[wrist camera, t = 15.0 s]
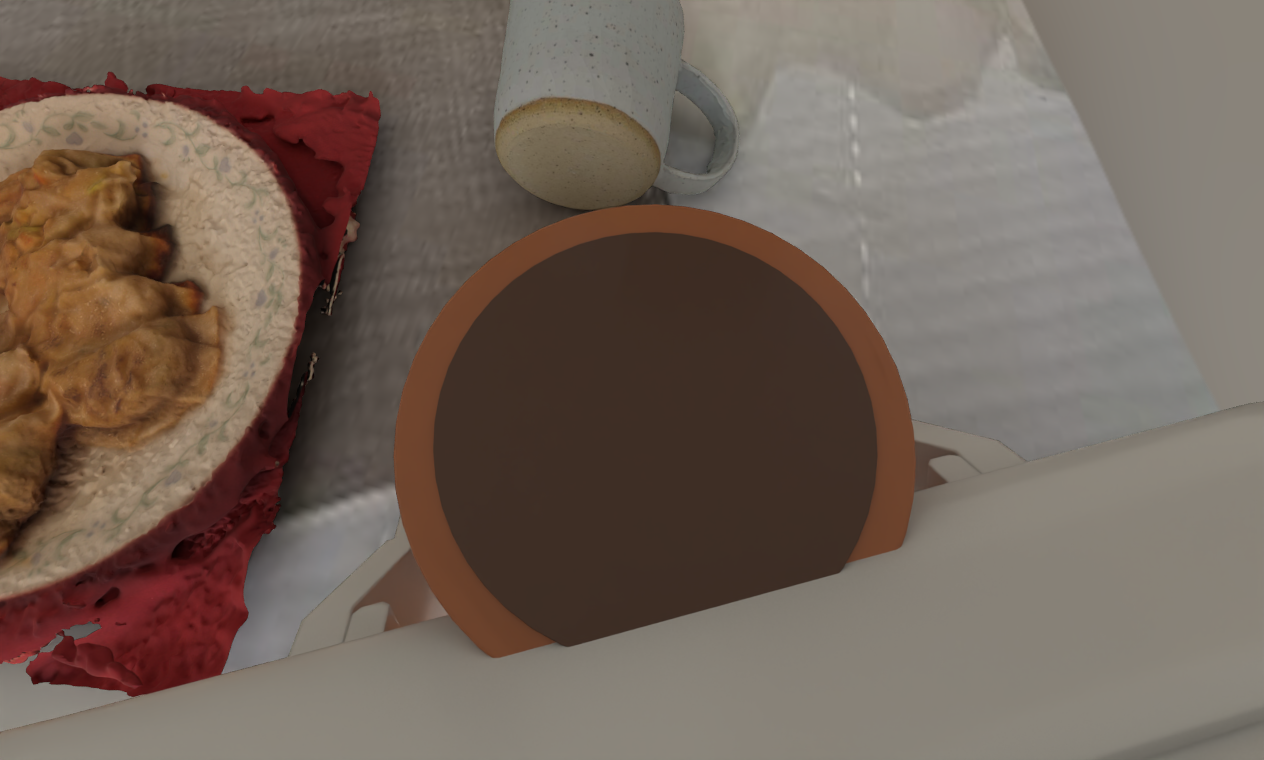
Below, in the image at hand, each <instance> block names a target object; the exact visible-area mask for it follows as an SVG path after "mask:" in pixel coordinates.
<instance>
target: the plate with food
mask: <svg viewBox="0 0 1264 760" xmlns="http://www.w3.org/2000/svg"><path fill="white" fill-rule="evenodd" d="M88 89H89V90H90V92H87V90H88ZM74 90H77V91H74ZM74 90H72V89H71V88H70V87H68V86H66V85H63V84H60V83H57V82H52V81H48V82H41V81H39V80H37V79H36V78H33V77H32V78H31V79H30V80H22V81H19V80H10V79H6V78H3V77H0V664H2V663H3V661H4V662H8V663H11V664H16V663H22V662H25V661H26V660H27V659H28V657H29V656H33V655H36V654H37V653H38V656H37V658H36V659H35V660H34V661H30V664H29V666H28V667H27V668H26V673H27V674H28V675H29V676H30V677H31V681H32V683H33V685H34V684H38V683H41V682H50V683H49V684H56V685H61V684H67V685H72V686H86V687H91V688H99V689H104V690H120V691H124V692H127V695H128V696H132V697H135V696H138V695H142V694H150V693H153V692H157V691H161V690H165V689H169V688H172V687H176V686H180V685H184V684H188V683H191V682H195V681H199V680H203V679H207V678H210V677H214V676H218V675H221V673H222V670H223V668H224V666H225V663H226V660H227V658H228V655H229V651H230V648H231V645H232V642H233V639H234V637H235V634H236V632H237V631H238V629H239V628H240V627H241V626H242V625H243V623H244V622H245V621H246V620H247V618H248V614H249V612H248V610H247V608H246V606H245V603H244V596H243V589H244V583H245V578H246V573H247V566H248V561H249V559H250V556H251V552H252V550H253V548H254V547H255V546H256V545H257V543H258V542H259V540H260V539H261V537H262V535H263V534H269V533H270V532H271V531H272V530H273V529H275V528H276V525H275V524H274V523H273V520H274V519H275V517H276V513H277V512H278V511H279V509H280V507H281V504H278V505H276V506H275V504H276V503H277V502H278V501H280V500H281V498H280V497H278V489H279V487H280V484H281V482H282V476H283V469H282V467H283V465H284V464H285V463H286V462H287V461H288V459H289V448H290V447H291V445H292V442H293V439H294V438H295V432H296V429H297V425H298V418H299V416H300V409H301V406H302V397H303V395H304V392H305V385H307V380H311V379H313V378H314V370H313V368H314V363H315V362H317V361H318V360H319V358H318V357H317V356H316V354H315V353H312V355H311V356H310V358H311V362H309V363H308V371H307V372H305V373H304V374H303V375H302V377H301V382H300V384H299V387H298V390H297V397H296V399H293V402H292V405H291V407H290V409H289V411H288V412H287V401H288V394H289V389H290V384H291V377H292V372H293V366H294V362H295V359H296V351H297V347H298V345H299V344H300V341H301V337H302V333H303V331H304V327H305V319H306V312H307V311H308V309H309V308H310V306H311V304H312V300H313V294H314V292H315V290H316V288H317V287H322V289H325V290H326V291H329V290H330V294H331V298H330V300H328V298H326V300H325V301H326V303H328V308H326V307H325V306H324V307H323V308H321V313H322V314H323V313H325V314H327V315H332V305H333V303H334V300H335V299H336V298H337V297H336V293H337V289H338V285H339V282H340V278H341V272H342V270H343V266H344V257H345V254H344V253H343V252H344V251H347V244H348V243H349V242H354V241H356V240H357V229H358V228H359V227H360V223H359V222H356V221H355V216H356V213H354V212H352V211H351V208H352V207H354V206H355V205H356V204H357V201H356V200H357V197H358V195H360V193H361V190H363V189H364V184H365V181H366V178H367V174H368V169H369V166H370V161H371V159H372V154H373V151H374V148H375V145H376V141H377V135H378V129H379V125H378V121H379V119H380V117H381V112H380V105H379V100H378V99H377V98H375V97H373V94H372V92H371V91H370V93H369V97H367V98H365V97H362V96H359V95H356V94H355V93H353V92H352V91H348V92H347V93H341V94H339V95H334V96H333V95H332V94H330V93H329V92H328V91H326V90H322V89H318V90H315V91H310V92H306V93H303V94H295V93H292V92H283V93H281V92H278V91H275V90H272V89H269V88H266V89H265V90H264V91H263V94H255V93H253V92H252V91H251V90H250V88H249V87H248V86H243V87H242V88H241V93H240V92H237V91H224V90H220V91H216V90H213V91H208V90H200V89H191V88H186V89H183V88H176V87H171V86H167V85H163V84H152V85H149V86H147V88H146V92H147V94H143V93H142V92H139V91H136V94H135V95H134V94H133V90H132V89H131V90H130V91H129V93H127V91H128V87H127V85H126V84H125V83H124V81H122V80H119V79H117V78H116V76H115V75H114V73H112V72H108V76H107V79H106V80H105V86H104V85H93V86H92V88H90V87H89V86H86V87H84V88H83V89H80V88H76V89H74ZM342 292H343V291H339V292H338V294H339V295H341V294H342ZM328 301H329V302H328ZM315 356H316V357H315ZM89 621H91V622H92V623H93V624H95V623H96V624H100V625H101V627H102V628H101V629H99V630H97V631H95V632H93V633H91V634H90V635H88V636H87V637H84V638H81V639H77V640H75V641H74V638H73V637H72V636H65V635H64V631H63V630H62V629H70V627H71V626H74V625H76V624H78V625H83V624H86V623H87V622H89ZM55 633H57V634H58V635H60V636H63V637H64V638H63V640H62V642H60V643H59V644H58V645H56V647H55V648H54V650H53V651H51V652H45V653H44V652H41V653H39V652H40V650H41V648H40V647H45V646H47V645H48V644H49V642H50V641H51V640H52V639H54V638H56V634H55Z"/></svg>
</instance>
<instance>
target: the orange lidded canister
mask: <svg viewBox="0 0 1264 760" xmlns="http://www.w3.org/2000/svg"><path fill="white" fill-rule="evenodd" d="M394 471H395V487H396V494H397V499H398V504H399V509H400V514H401V519H402V524H403V527H404V530H405V533H406V536H407V539H408V541H409V544H410V547H411V550H412V553H413V556H414V558H415V560H416V562H417V564H418V566H419V568H420V570H421V572H422V574H423V576H424V578H425V580H426V582H427V584H428V586H429V588H430V589H431V591H432V592H433V594H434V595H435V597H436V598H437V600H438V601H439V602H440V604H441V605H442V607H443V608H444V609H445V611H446V612H447V614H448V615H449V616H450V618H451V619H452V621H453V622H454V623H455V624H456V625H457V626H458V627H459V628H460V629H461V630H462V631H463V632H464V633H465V634H466V635H467V636H468V637H469V639H470V640H471V641H472V642H473V643H474V644H475V645H476V646H477V647H478V648H479V649H480V650H482V651H483V652H484V653H486V654H487V655H488V656H490V657H492V658H501V657H505V656H508V655H512V654H516V653H519V652H523V651H527V650H530V649H534V648H538V647H541V646H545V645H549V644H552V643H556V642H557V643H558V644H560V645H563V646H565V647H571V646H575V645H579V644H582V643H586V642H590V641H593V640H597V639H601V638H604V637H608V636H612V635H615V634H619V633H623V632H626V631H630V630H634V629H637V628H641V627H644V626H648V625H652V624H655V623H659V622H663V621H666V620H670V619H674V618H677V617H681V616H685V615H688V614H692V613H696V612H699V611H703V610H707V609H710V608H714V607H718V606H721V605H725V604H729V603H732V602H736V601H739V600H743V599H747V598H750V597H754V596H758V595H761V594H765V593H769V592H772V591H776V590H780V589H783V588H787V587H791V586H794V585H798V584H802V583H805V582H809V581H813V580H816V579H820V578H823V577H827V576H831V575H834V574H838V573H840V572H841V570H842V569H843V568H844V566H845V564H846V563H849V562H853V561H857V560H860V559H864V558H868V557H871V556H875V555H879V554H882V553H886V552H890V551H893V550H897V549H898V548H900V547H901V546H902V544H903V541H904V538H905V536H906V533H907V528H908V523H909V519H910V514H911V509H912V504H913V499H914V486H915V471H916V457H915V442H914V429H913V424H912V419H911V414H910V409H909V404H908V399H907V396H906V393H905V390H904V387H903V384H902V381H901V378H900V375H899V372H898V369H897V367H896V365H895V363H894V361H893V359H892V357H891V354H890V352H889V350H888V348H887V346H886V344H885V342H884V340H883V338H882V337H881V335H880V334H879V332H878V330H877V329H876V327H875V326H874V324H873V323H872V321H871V320H870V318H869V317H868V315H867V313H866V312H865V311H864V310H863V308H862V307H861V306H860V305H859V304H858V302H857V301H856V300H855V299H854V298H853V296H852V295H851V294H850V293H849V292H848V290H847V289H846V288H845V287H844V286H843V285H842V284H841V283H840V282H839V281H837V280H836V279H835V278H834V277H833V276H832V275H831V274H830V273H829V272H828V271H827V270H826V269H825V268H824V267H823V266H821V265H820V264H819V263H817V262H816V261H815V260H813V259H812V258H810V257H809V256H808V255H806V254H805V253H804V252H802V251H801V250H800V249H798V248H797V247H795V246H793V245H792V244H790V243H788V242H786V241H785V240H783V239H781V238H779V237H778V236H776V235H774V234H773V233H770V232H768V231H766V230H764V229H761V228H759V227H757V226H754V225H752V224H750V223H748V222H745V221H742V220H739V219H736V218H733V217H729V216H726V215H723V214H720V213H716V212H712V211H706V210H701V209H696V208H691V207H684V206H671V205H657V204H654V205H627V206H620V207H613V208H607V209H600V210H595V211H591V212H588V213H584V214H580V215H577V216H573V217H569V218H566V219H564V220H561V221H559V222H556V223H554V224H551V225H549V226H546V227H544V228H541V229H539V230H537V231H535V232H533V233H532V234H530V235H528V236H526V237H524V238H522V239H520V240H519V241H517V242H515V243H513V244H512V245H510V246H509V247H507V248H506V249H505V250H503V251H502V252H500V253H499V254H498V255H496V256H495V257H493V258H492V259H490V260H489V261H488V262H487V263H486V264H484V265H483V266H482V267H481V268H480V269H479V270H478V271H477V272H476V273H474V274H473V275H472V276H471V277H470V278H469V279H468V280H467V281H466V282H465V283H464V284H463V285H462V286H461V287H460V289H459V290H458V291H457V292H456V293H455V294H454V295H453V297H452V298H451V299H450V300H449V301H448V302H447V304H446V305H445V306H444V308H443V309H442V311H441V312H440V314H439V315H438V317H437V318H436V320H435V321H434V322H433V324H432V325H431V327H430V328H429V330H428V332H427V334H426V336H425V338H424V340H423V342H422V344H421V346H420V348H419V350H418V352H417V354H416V356H415V358H414V360H413V363H412V365H411V368H410V371H409V374H408V377H407V380H406V383H405V385H404V388H403V392H402V397H401V401H400V406H399V411H398V416H397V421H396V430H395V444H394Z"/></svg>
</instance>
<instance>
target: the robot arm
mask: <svg viewBox="0 0 1264 760" xmlns="http://www.w3.org/2000/svg"><path fill="white" fill-rule="evenodd" d="M912 424H913V429H914V442H915V457H916V471H915V486H914V499H913V504H912V509H911V514H910V519H909V523H908V528H907V533H906V536H905V538H904V541H903V544H902V546H901V547H900V548H898V549H897V550H893V551H890V552H886V553H882V554H879V555H875V556H871V557H868V558H864V559H860V560H857V561H853V562H849V563H846V564H845V566H844V568H843V569H842V570H841V572H840V573H838V574H834V575H831V576H827V577H823V578H820V579H816V580H813V581H809V582H805V583H802V584H798V585H794V586H791V587H787V588H783V589H780V590H776V591H772V592H769V593H765V594H761V595H758V596H754V597H750V598H747V599H743V600H739V601H736V602H732V603H729V604H725V605H721V606H718V607H714V608H710V609H707V610H703V611H699V612H696V613H692V614H688V615H685V616H681V617H677V618H674V619H670V620H666V621H663V622H659V623H655V624H652V625H648V626H644V627H641V628H637V629H634V630H630V631H626V632H623V633H619V634H615V635H612V636H608V637H604V638H601V639H597V640H593V641H590V642H586V643H582V644H579V645H575V646H571V647H565V646H563V645H560V644H558V643H557V642H556V643H552V644H549V645H545V646H541V647H538V648H534V649H530V650H527V651H523V652H519V653H516V654H512V655H508V656H505V657H501V658H492V657H490V656H488V655H487V654H486V653H484V652H483V651H482V650H480V649H479V648H478V647H477V646H476V645H475V644H474V643H473V642H472V641H471V640H470V639H469V637H468V636H467V635H466V634H465V633H464V632H463V631H462V630H461V629H460V628H459V627H458V626H457V625H456V624H455V623H454V622H453V621H452V619H451V618H450V616H449V615H448V614H447V612H446V611H445V609H444V608H443V607H442V605H441V604H440V602H439V601H438V600H437V598H436V597H435V595H434V594H433V592H432V591H431V589H430V588H429V586H428V584H427V582H426V580H425V578H424V576H423V574H422V572H421V570H420V568H419V566H418V564H417V562H416V560H415V558H414V556H413V553H412V550H411V547H410V544H409V541H408V539H407V536H406V533H405V530H404V527H403V524H402V519H401V514H400V517H399V521H398V525H397V529H396V533H395V537H394V539H391V540H387V541H386V542H385V543H384V544H383V545H382V546H381V547H380V548H379V549H378V550H377V551H376V552H374V553H373V554H372V555H371V556H370V557H369V558H368V559H367V560H366V561H365V562H364V563H363V564H362V565H361V566H360V567H358V568H357V569H356V570H355V571H354V572H353V573H352V574H351V575H350V576H349V577H348V578H347V579H346V580H345V581H344V582H343V583H341V584H340V585H339V586H338V587H337V588H336V589H335V590H334V591H333V592H332V593H331V594H330V595H329V596H328V597H327V598H325V599H324V600H323V601H322V602H321V603H320V604H319V605H318V606H317V607H316V608H315V609H314V610H313V611H312V612H311V613H310V614H308V615H307V616H306V617H305V618H304V619H303V620H302V622H301V624H300V627H299V629H298V632H297V634H296V637H295V640H294V642H293V645H292V647H291V650H290V653H289V655H288V657H286V658H283V659H279V660H275V661H271V662H267V663H264V664H260V665H256V666H252V667H248V668H245V669H241V670H237V671H233V672H229V673H226V674H222V675H218V676H214V677H210V678H207V679H203V680H199V681H195V682H191V683H188V684H184V685H180V686H176V687H172V688H169V689H165V690H161V691H157V692H153V693H150V694H146V695H142V696H138V697H135V698H131V699H127V700H123V701H119V702H116V703H112V704H108V705H104V706H100V707H97V708H93V709H89V710H85V711H81V712H78V713H74V714H70V715H66V716H62V717H59V718H55V719H51V720H46V721H42V722H38V723H34V724H30V725H26V726H22V727H17V728H13V729H9V730H5V731H2V732H0V760H1264V402H1256V403H1251V404H1246V405H1241V406H1237V407H1233V408H1229V409H1226V410H1222V411H1218V412H1215V413H1211V414H1207V415H1204V416H1200V417H1196V418H1192V419H1189V420H1185V421H1181V422H1177V423H1173V424H1170V425H1166V426H1162V427H1158V428H1154V429H1151V430H1147V431H1143V432H1139V433H1136V434H1132V435H1128V436H1124V437H1120V438H1117V439H1113V440H1109V441H1105V442H1101V443H1098V444H1094V445H1090V446H1086V447H1082V448H1079V449H1075V450H1071V451H1067V452H1064V453H1060V454H1056V455H1052V456H1048V457H1045V458H1041V459H1037V460H1033V461H1029V462H1027V461H1026V460H1024V459H1023V458H1022V457H1020V456H1019V455H1017V454H1016V453H1015V452H1013V451H1012V450H1011V449H1009V448H1008V447H1007V446H1005V445H1004V444H1002V443H1001V442H1000V441H998V440H994V439H990V438H986V437H981V436H977V435H973V434H969V433H965V432H961V431H957V430H953V429H949V428H945V427H941V426H937V425H932V424H928V423H924V422H920V421H916V420H912Z"/></svg>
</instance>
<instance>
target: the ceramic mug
mask: <svg viewBox="0 0 1264 760" xmlns="http://www.w3.org/2000/svg"><path fill="white" fill-rule="evenodd" d="M683 38H684V16H683V10H682V7H681V4H680V2H679V0H511V1H510V10H509V17H508V23H507V30H506V35H505V43H504V48H503V56H502V63H501V73H500V79H499V84H498V89H497V95H496V101H495V109H494V141H495V148H496V152H497V155H498V158H499V160H500V163H501V164H502V166H503V168H504V169H505V171H506V172H507V173H508V174H509V175H510V176H511V177H512V178H513V179H514V180H515V181H516V182H517V183H518V184H519V185H520V186H522V187H523V188H524V189H526V190H527V191H528V192H530V193H532V194H533V195H535V196H537V197H539V198H541V199H543V200H545V201H548V202H550V203H553V204H556V205H560V206H564V207H568V208H573V209H581V210H600V209H607V208H613V207H619V206H622V205H624V204H627V203H629V202H631V201H633V200H635V199H637V198H639V197H640V196H642V195H643V194H644V193H645V192H646V191H647V190H648V189H649V188H650V187H651V186H654V187H657V188H659V189H661V190H664V191H666V192H669V193H673V194H683V195H689V194H690V195H693V194H698V193H702V192H704V191H707V190H708V189H709V188H711V187H712V186H714V185H715V184H716V183H717V182H718V181H719V180H720V179H721V178H722V177H723V176H724V175H725V174H726V173H727V172H728V171H729V170H730V169H731V167H732V165H733V163H734V162H735V159H736V156H737V153H738V147H739V135H740V133H739V125H738V121H737V118H736V115H735V113H734V110H733V108H732V106H731V105H730V103H729V101H728V100H727V98H726V97H725V96H724V95H723V93H722V92H721V91H720V89H719V88H718V87H717V86H716V85H715V84H714V83H713V82H712V81H711V80H710V79H709V78H707V76H705V75H704V74H703V73H702V72H701V71H699V70H698V69H696V68H695V67H693V66H692V65H690V64H689V63H687V62H685V61H684V60H682V59H681V52H682V45H683ZM675 90H677V91H679V92H680V93H681V94H683V95H684V96H686V97H687V98H688V99H690V100H691V101H692V102H693V103H694V104H695V105H696V106H697V107H698V108H699V109H700V110H701V111H702V112H703V113H704V115H705V116H706V117H707V119H708V120H709V122H710V124H711V125H712V127H713V129H714V135H715V137H716V142H715V147H714V153H713V158H712V161H711V162H710V163H709V164H708V166H707V174H693V173H689V172H684V171H680V170H678V169H676V168H672V167H669V166H668V165H666V164H664V157H665V154H666V151H667V146H668V141H669V136H670V126H671V114H672V107H673V100H674V94H675Z"/></svg>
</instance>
